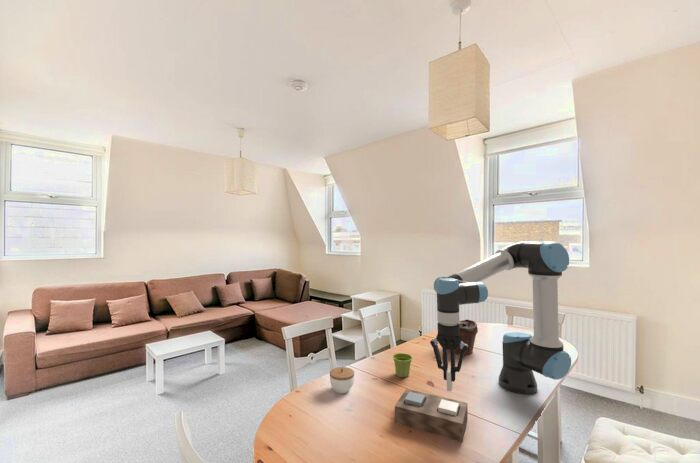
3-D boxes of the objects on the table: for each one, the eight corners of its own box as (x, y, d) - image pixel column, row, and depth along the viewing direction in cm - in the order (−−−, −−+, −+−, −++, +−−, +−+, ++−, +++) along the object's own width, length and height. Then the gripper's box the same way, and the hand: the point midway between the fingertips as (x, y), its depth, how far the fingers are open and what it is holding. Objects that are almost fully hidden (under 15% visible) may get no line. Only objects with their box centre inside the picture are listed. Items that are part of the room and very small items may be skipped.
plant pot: (412, 380, 143) (412, 361, 143) (391, 378, 145) (391, 359, 145) (412, 371, 152) (412, 353, 152) (393, 369, 154) (393, 352, 154)
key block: (467, 419, 113) (467, 402, 113) (462, 442, 100) (462, 423, 100) (406, 403, 123) (406, 388, 123) (394, 422, 111) (394, 405, 111)
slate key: (425, 405, 116) (425, 395, 116) (421, 414, 110) (421, 402, 110) (409, 402, 118) (409, 391, 118) (404, 409, 113) (404, 398, 113)
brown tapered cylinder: (481, 348, 184) (480, 317, 184) (474, 359, 167) (473, 326, 167) (450, 342, 193) (449, 314, 193) (441, 353, 176) (440, 321, 177)
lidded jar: (357, 386, 137) (357, 365, 137) (349, 398, 127) (349, 375, 127) (335, 382, 141) (335, 361, 141) (325, 393, 131) (325, 371, 131)
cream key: (458, 414, 110) (458, 403, 110) (456, 423, 105) (456, 411, 105) (441, 410, 113) (441, 399, 113) (438, 418, 108) (438, 407, 108)
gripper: (469, 321, 110) (470, 388, 110) (432, 318, 116) (433, 381, 115) (466, 327, 103) (468, 398, 103) (427, 323, 109) (428, 390, 109)
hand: (449, 389), depth 109 cm, fingers closed
